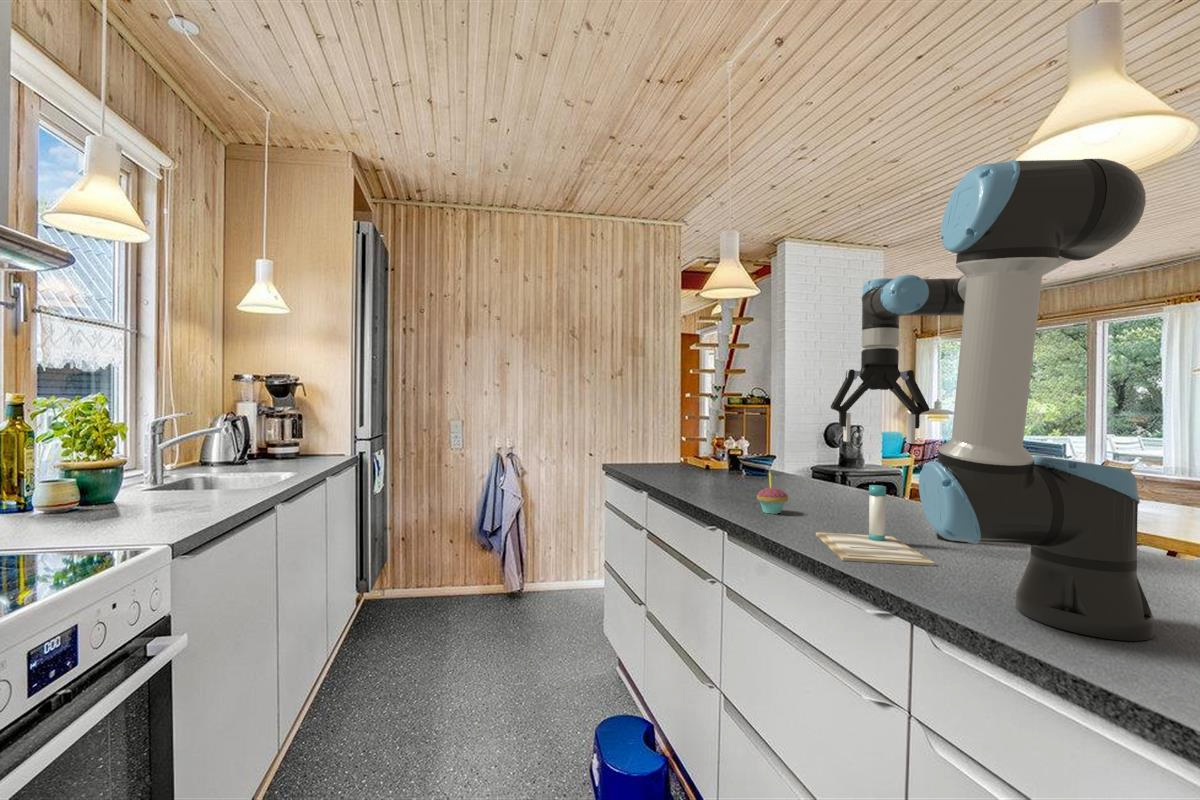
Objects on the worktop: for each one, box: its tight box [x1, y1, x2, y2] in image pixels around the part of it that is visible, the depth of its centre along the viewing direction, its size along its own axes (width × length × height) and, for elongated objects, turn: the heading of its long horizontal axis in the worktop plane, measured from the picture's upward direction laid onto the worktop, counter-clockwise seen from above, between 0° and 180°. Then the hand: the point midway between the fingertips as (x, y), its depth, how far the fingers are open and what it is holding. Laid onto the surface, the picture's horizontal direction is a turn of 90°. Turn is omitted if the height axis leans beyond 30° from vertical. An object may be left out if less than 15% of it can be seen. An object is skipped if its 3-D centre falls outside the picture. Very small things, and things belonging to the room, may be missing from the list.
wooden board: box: [815, 531, 936, 567], centre depth 118 cm, size 22×17×1 cm
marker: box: [868, 484, 887, 541], centre depth 123 cm, size 3×3×12 cm
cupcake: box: [756, 471, 789, 515], centre depth 156 cm, size 9×8×12 cm
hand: (878, 442), depth 123 cm, fingers open, 13 cm apart
